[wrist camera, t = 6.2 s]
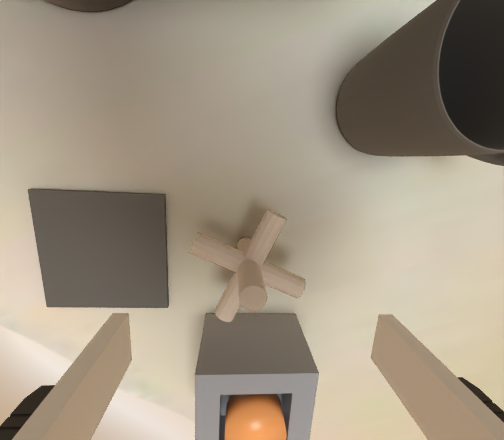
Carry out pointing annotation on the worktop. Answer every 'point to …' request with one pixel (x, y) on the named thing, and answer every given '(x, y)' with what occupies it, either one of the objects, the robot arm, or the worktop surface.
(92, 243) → the mat
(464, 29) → the mug
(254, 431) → the plunger
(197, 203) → the worktop surface
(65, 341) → the worktop surface
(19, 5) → the worktop surface
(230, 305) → the beige toy jack
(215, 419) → the housing
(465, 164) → the worktop surface
